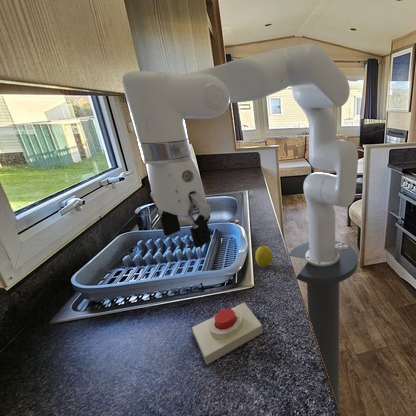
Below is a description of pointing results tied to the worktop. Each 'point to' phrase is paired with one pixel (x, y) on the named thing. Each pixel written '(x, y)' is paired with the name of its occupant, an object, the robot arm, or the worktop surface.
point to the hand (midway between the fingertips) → (187, 238)
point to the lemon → (263, 256)
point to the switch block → (226, 334)
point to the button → (225, 319)
